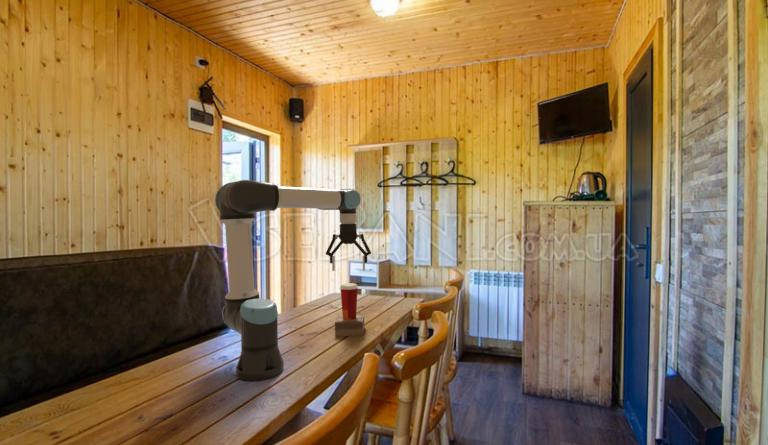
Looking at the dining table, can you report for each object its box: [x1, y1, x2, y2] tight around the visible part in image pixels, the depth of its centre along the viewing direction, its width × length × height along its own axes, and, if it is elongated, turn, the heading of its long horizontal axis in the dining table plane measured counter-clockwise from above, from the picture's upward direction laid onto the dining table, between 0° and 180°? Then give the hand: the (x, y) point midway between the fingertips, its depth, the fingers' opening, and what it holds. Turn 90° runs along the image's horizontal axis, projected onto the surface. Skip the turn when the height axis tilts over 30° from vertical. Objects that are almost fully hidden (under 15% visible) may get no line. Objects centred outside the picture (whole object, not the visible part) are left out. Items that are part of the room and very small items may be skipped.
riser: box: [334, 314, 365, 337], centre depth 164 cm, size 12×12×6 cm
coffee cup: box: [339, 282, 359, 320], centre depth 164 cm, size 8×8×15 cm
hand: (348, 270), depth 164 cm, fingers open, 13 cm apart
